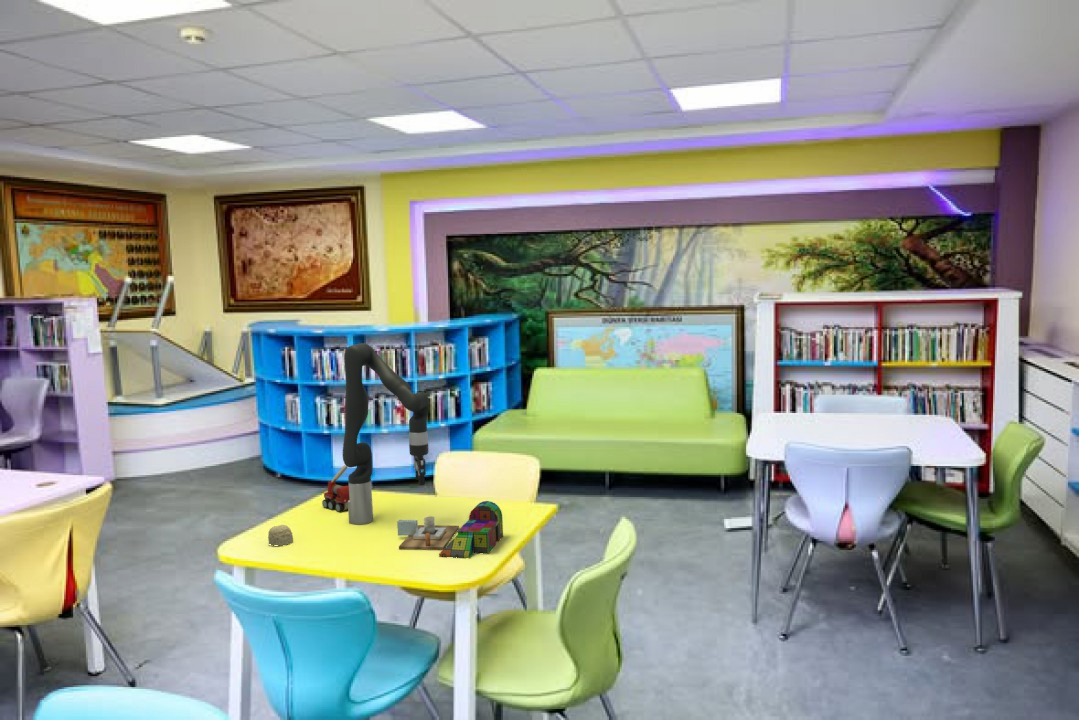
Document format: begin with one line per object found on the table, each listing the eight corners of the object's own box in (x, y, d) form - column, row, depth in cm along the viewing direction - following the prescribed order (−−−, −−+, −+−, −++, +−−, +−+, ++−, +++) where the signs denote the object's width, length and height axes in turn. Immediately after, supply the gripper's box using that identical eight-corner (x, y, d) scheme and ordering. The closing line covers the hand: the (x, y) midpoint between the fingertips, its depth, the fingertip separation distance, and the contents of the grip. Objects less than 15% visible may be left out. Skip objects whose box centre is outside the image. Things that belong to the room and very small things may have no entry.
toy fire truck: (341, 513, 340) (338, 473, 339) (321, 507, 351) (318, 469, 349) (363, 507, 349) (360, 468, 347) (342, 501, 359) (340, 463, 357)
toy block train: (461, 535, 307) (460, 499, 306) (503, 536, 303) (501, 501, 302) (439, 557, 283) (437, 519, 281) (484, 560, 279) (482, 521, 277)
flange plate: (446, 530, 307) (445, 517, 307) (439, 539, 297) (438, 525, 297) (402, 530, 310) (402, 516, 309) (394, 538, 300) (393, 525, 299)
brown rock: (269, 553, 305) (257, 537, 299) (282, 533, 312) (270, 517, 306) (288, 555, 302) (276, 539, 295) (300, 535, 308) (289, 519, 302)
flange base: (398, 549, 292) (397, 528, 291) (418, 528, 317) (417, 508, 316) (443, 550, 290) (442, 528, 289) (459, 528, 314) (458, 508, 313)
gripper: (431, 445, 306) (432, 485, 308) (425, 438, 319) (426, 476, 321) (411, 447, 304) (413, 487, 306) (406, 439, 317) (408, 478, 319)
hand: (420, 482), depth 313 cm, fingers open, 8 cm apart
